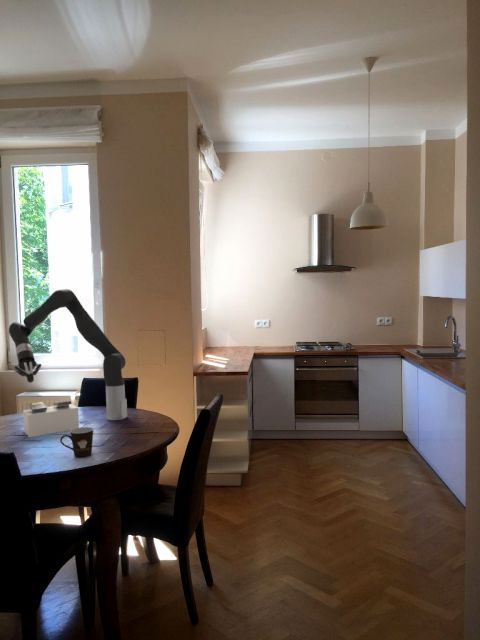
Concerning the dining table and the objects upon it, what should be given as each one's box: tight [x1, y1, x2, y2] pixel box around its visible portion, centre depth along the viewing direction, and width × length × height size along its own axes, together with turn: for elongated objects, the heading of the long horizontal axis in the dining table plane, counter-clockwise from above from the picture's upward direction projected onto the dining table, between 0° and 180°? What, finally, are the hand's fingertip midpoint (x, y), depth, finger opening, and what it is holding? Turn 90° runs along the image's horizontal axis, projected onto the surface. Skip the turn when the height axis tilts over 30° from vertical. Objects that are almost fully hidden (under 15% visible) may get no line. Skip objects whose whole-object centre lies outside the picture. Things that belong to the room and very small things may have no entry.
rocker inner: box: [53, 400, 72, 406], centre depth 225 cm, size 6×8×2 cm
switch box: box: [22, 403, 80, 438], centre depth 223 cm, size 22×12×11 cm, turn 125°
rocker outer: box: [28, 401, 48, 412], centre depth 219 cm, size 6×8×2 cm
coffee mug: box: [59, 426, 94, 459], centre depth 185 cm, size 12×9×10 cm
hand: (31, 381), depth 230 cm, fingers closed
